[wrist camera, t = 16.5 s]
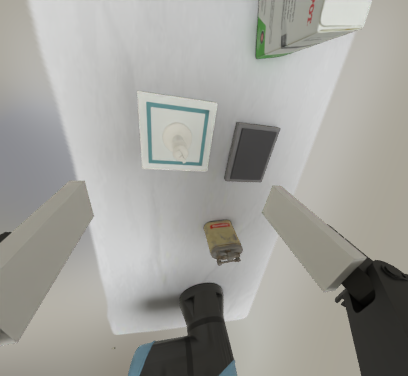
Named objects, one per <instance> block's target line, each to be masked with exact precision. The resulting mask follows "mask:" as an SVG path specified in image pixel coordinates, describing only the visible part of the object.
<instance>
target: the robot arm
mask: <svg viewBox="0 0 408 376" xmlns="http://www.w3.org/2000/svg"><path fill="white" fill-rule="evenodd" d="M262 214H263V215H264V216H265V217H266V219H267V220H268V221H269V223H270V224H271V225H272V226H273V228H274V229H275V230H276V232H277V233H278V234H279V235H280V237H281V238H282V239H283V240H284V242H285V243H286V245H287V246H288V247H289V248H290V250H291V251H292V252H293V254H294V255H295V256H296V257H297V258H298V260H299V261H300V263H301V264H302V265H303V266H304V268H305V269H306V270H307V272H308V273H309V274H310V275H311V277H312V278H313V279H314V281H315V282H316V283H317V284H318V286H319V287H320V288H321V290H322V291H323V292H328V291H334V290H336V289H337V288H338V287H339V286H340V285H341V284H342V285H343V286H344V287H345V288H346V289H345V290H343V292H341V293H340V294H339V295H338V296H337V297H336V298H335V302H336V303H338V302H339V301H340V300H341V299H344V301H343V302H342V303H341V305H342V306H344V307H346V310H347V314H348V318H349V323H350V328H351V332H352V336H353V341H354V345H355V349H356V354H357V358H358V362H359V367H360V371H361V376H408V275H407V274H404V273H402V272H401V271H400V270H398V269H397V268H395V267H394V266H392V265H390V264H388V263H386V262H383V261H379V260H375V261H372V260H371V259H370V258H368V257H367V256H366V255H365V254H364V253H362V252H361V251H360V250H359V249H357V248H356V247H355V246H354V245H353V244H351V243H350V242H349V241H348V240H346V239H344V237H343V236H342V235H340V234H339V233H338V232H337V231H336V230H334V229H333V228H332V227H331V226H329V225H328V224H326V223H325V222H324V221H322V220H321V219H320V218H319V217H317V216H316V215H315V214H314V213H313V212H312V211H310V210H309V209H308V208H307V207H306V206H304V205H303V204H302V203H301V202H299V201H298V200H297V199H296V198H295V197H294V196H292V195H291V194H290V193H289V192H288V191H286V190H285V189H284V188H283V187H282V186H272V188H271V191H270V193H269V196H268V199H267V201H266V204H265V206H264V209H263V211H262ZM93 217H94V215H93V211H92V207H91V203H90V200H89V196H88V192H87V189H86V185H85V181H69V182H68V183H67V184H65V185H64V186H63V187H62V188H61V189H60V190H59V191H58V192H57V193H55V194H54V195H53V196H52V197H51V198H50V199H49V200H48V201H46V202H45V203H44V204H43V205H42V206H41V207H40V208H39V209H37V210H36V211H35V212H34V213H33V214H32V215H31V216H30V217H29V218H28V219H26V220H25V221H24V222H23V223H22V224H21V225H20V226H18V227H17V229H15V230H14V231H13V232H5V233H3V234H1V235H0V346H2V345H9V344H15V343H18V341H19V339H20V338H21V336H22V334H23V333H24V331H25V329H26V328H27V326H28V324H29V323H30V321H31V320H32V318H33V316H34V315H35V313H36V311H37V310H38V308H39V306H40V305H41V303H42V301H43V299H44V298H45V296H46V294H47V293H48V291H49V290H50V288H51V286H52V285H53V283H54V281H55V280H56V278H57V276H58V275H59V273H60V271H61V270H62V268H63V266H64V265H65V263H66V261H67V260H68V258H69V256H70V255H71V253H72V251H73V250H74V248H75V247H76V245H77V243H78V241H79V240H80V238H81V236H82V235H83V233H84V232H85V230H86V228H87V227H88V225H89V223H90V222H91V220H92V218H93ZM223 298H224V297H223V292H222V289H221V287H220V286H218V285H216V284H210V283H207V284H200V285H196V286H193V287H191V288H189V289H187V290H186V291H185V292H183V293H182V295H181V296H180V308H181V311H182V314H183V316H184V319H185V322H186V325H187V332H188V336H185V337H179V338H173V339H167V340H161V341H153V342H152V343H147V344H143V345H141V346H139V347H138V348H137V350H136V351H135V354H134V356H133V359H132V362H131V365H130V370H129V373H128V376H237V372H236V368H235V360H234V358H233V354H232V350H231V346H230V342H229V338H228V334H227V330H226V326H225V322H224V317H223Z"/></svg>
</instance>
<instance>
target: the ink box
mask: <svg viewBox="0 0 408 376" xmlns="http://www.w3.org/2000/svg"><path fill="white" fill-rule="evenodd" d="M371 3H372V0H259V12H258V29H257V46H256V59H262V58H273V57H279V56H284V55H287V54H290V53H293V52H296V51H299V50H302V49H305V48H308V47H311V46H314V45H317V44H319V43H322V42H325V41H328V40H331V39H334V38H337V37H340V36H343V35H345V34H348V33H351V32H354V31H357V30H360V29H362V28H363V27H364V24H365V21H366V18H367V14H368V12H369V8H370V5H371Z"/></svg>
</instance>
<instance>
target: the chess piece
mask: <svg viewBox="0 0 408 376" xmlns="http://www.w3.org/2000/svg"><path fill="white" fill-rule="evenodd" d="M163 142H164V144H165V146H166V147H167V148H168V149H169V150H170V151H172V152H173V156H174V158H175V159H176V160H179V161H182V162H183V164H184V163H186V160H185V159H186V158H187V157H188V154H189V152H188V148H189V147H190V145H191V143H192V133H191V131H190V129H189V128H188V127H187V126H186V125H184V124H182V123H179V122H175V123H171V124H169V125H168V126H167V127H166V128H165V129H164V131H163Z"/></svg>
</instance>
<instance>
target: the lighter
mask: <svg viewBox="0 0 408 376" xmlns="http://www.w3.org/2000/svg"><path fill="white" fill-rule="evenodd" d="M204 231H205V234H206V238H207V242H208V246H209V249H210V253H211V256H212V257H213V258H214V259H217V263H218V266H220V265H222V264H223V263H228V262H233V261H235V262H239V261H241V260H240V258H239V257H240V254H241V253H242V251H243V248H242V246H241V243H240V241H239V239H238V237H237V235H236V233H235V231H234V228H233V226H232V224H231V222H230V221H229V220H222V221H214V222H208V223H207V224H205V226H204ZM234 258H236V259H234ZM225 259H228V261H224V262H221V260H225ZM233 259H234V260H233Z"/></svg>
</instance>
